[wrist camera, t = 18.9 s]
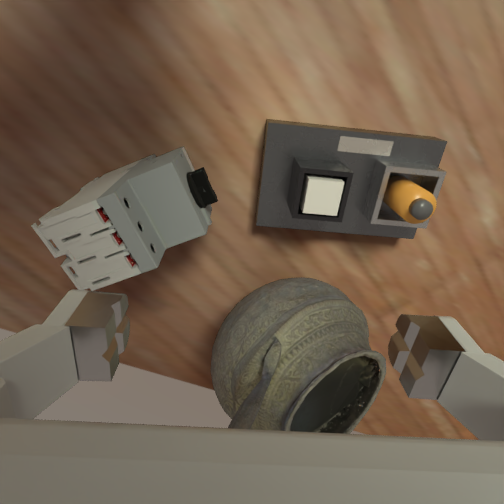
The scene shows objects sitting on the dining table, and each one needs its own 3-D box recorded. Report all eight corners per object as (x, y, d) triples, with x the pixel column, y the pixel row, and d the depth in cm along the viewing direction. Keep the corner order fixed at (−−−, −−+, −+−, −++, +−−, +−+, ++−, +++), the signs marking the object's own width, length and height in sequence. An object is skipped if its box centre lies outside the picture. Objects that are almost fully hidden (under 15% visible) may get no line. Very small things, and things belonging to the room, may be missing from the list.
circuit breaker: (226, 192, 44) (220, 245, 31) (126, 230, 46) (79, 295, 33) (201, 134, 41) (182, 165, 27) (94, 178, 43) (28, 226, 29)
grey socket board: (266, 118, 40) (271, 129, 33) (433, 137, 41) (473, 150, 34) (255, 216, 45) (257, 243, 38) (403, 229, 47) (432, 257, 40)
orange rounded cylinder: (384, 174, 40) (410, 192, 34) (414, 176, 40) (446, 194, 34) (377, 204, 42) (400, 226, 36) (406, 206, 42) (434, 228, 36)
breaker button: (301, 166, 39) (308, 178, 35) (332, 169, 39) (344, 182, 35) (296, 197, 41) (302, 212, 36) (326, 200, 41) (336, 215, 36)
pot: (190, 326, 54) (153, 507, 31) (269, 222, 46) (294, 364, 24) (296, 378, 59) (329, 563, 37) (382, 294, 52) (487, 463, 29)
